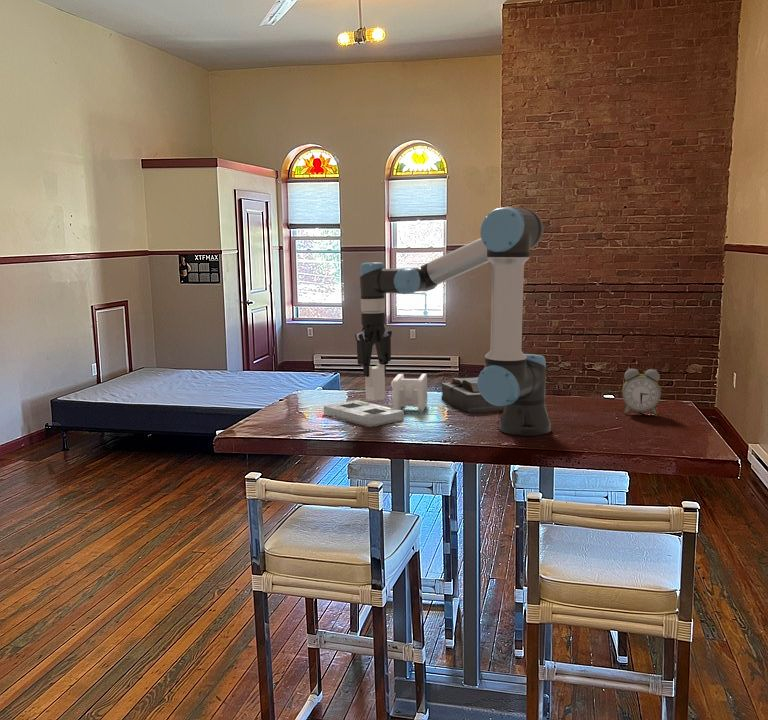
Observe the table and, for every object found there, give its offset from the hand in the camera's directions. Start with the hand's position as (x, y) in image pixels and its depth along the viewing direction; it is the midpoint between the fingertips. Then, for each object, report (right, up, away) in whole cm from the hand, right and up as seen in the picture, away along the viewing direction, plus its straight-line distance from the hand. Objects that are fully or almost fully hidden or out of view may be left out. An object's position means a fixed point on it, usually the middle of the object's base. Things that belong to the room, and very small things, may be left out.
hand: (375, 385), depth 232 cm
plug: (0, -4, +1) cm, 4 cm away
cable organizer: (+12, -9, +17) cm, 23 cm away
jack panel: (-4, -11, +6) cm, 13 cm away
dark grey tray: (+36, -8, +25) cm, 44 cm away
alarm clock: (+86, -10, +5) cm, 87 cm away
